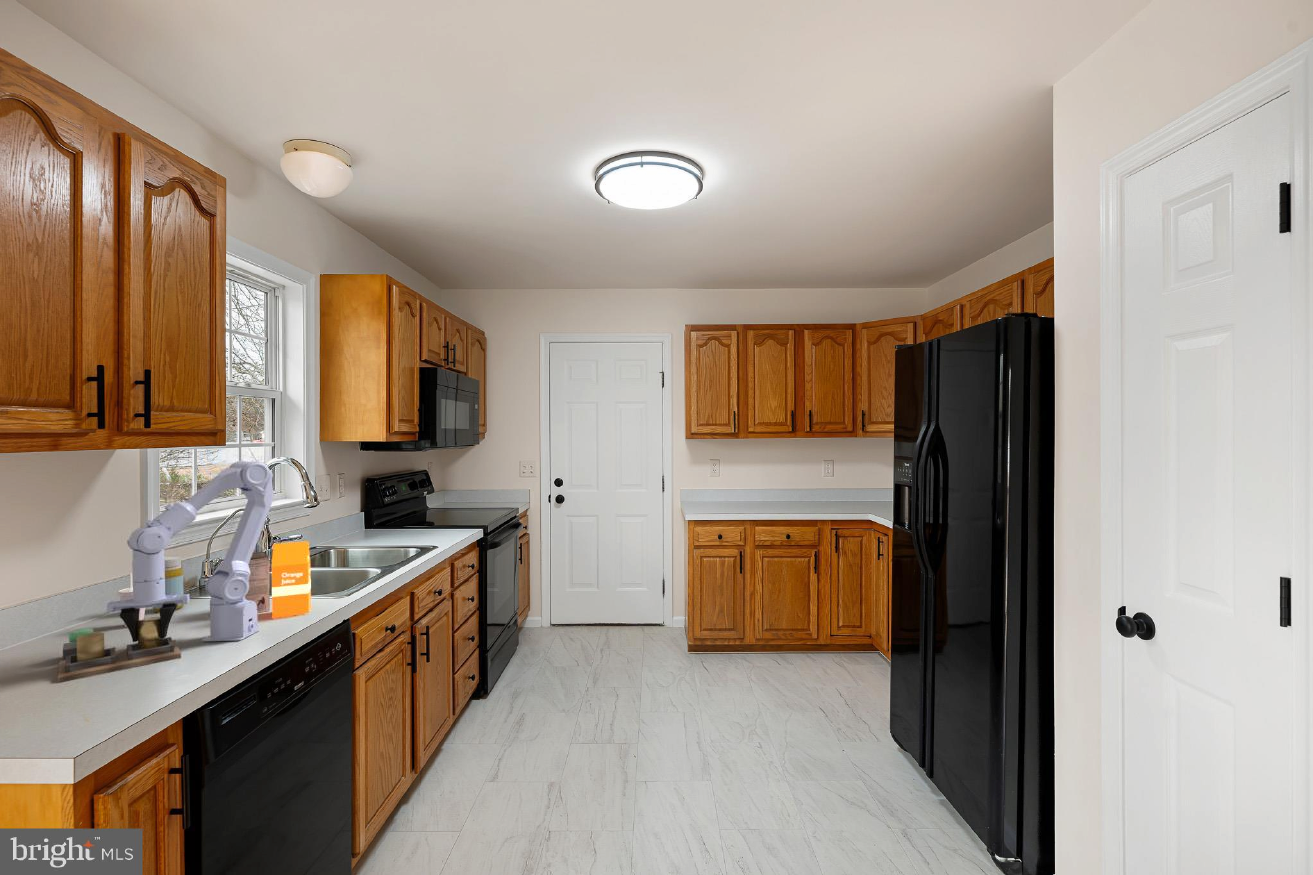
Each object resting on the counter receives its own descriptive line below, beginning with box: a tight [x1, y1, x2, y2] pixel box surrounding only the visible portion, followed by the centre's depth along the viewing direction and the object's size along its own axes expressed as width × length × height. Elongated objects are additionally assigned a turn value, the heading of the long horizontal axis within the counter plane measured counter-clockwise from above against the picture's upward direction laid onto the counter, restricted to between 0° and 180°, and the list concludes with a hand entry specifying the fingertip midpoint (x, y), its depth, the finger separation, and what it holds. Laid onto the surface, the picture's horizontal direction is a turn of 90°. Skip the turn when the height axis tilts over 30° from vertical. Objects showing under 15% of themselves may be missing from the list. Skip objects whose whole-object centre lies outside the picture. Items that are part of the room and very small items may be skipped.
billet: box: [137, 616, 163, 649], centre depth 141 cm, size 4×4×6 cm
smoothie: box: [117, 572, 146, 628], centre depth 164 cm, size 6×6×14 cm
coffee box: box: [245, 551, 271, 614], centre depth 177 cm, size 9×6×16 cm
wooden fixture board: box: [57, 631, 182, 683], centre depth 137 cm, size 20×13×7 cm, turn 133°
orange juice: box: [271, 540, 312, 619], centre depth 174 cm, size 8×9×20 cm
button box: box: [62, 642, 77, 661], centre depth 141 cm, size 6×6×3 cm
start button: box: [68, 628, 94, 643], centre depth 141 cm, size 4×4×2 cm
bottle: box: [152, 555, 185, 613], centre depth 179 cm, size 7×7×15 cm
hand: (150, 638), depth 141 cm, fingers closed on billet, 4 cm apart
